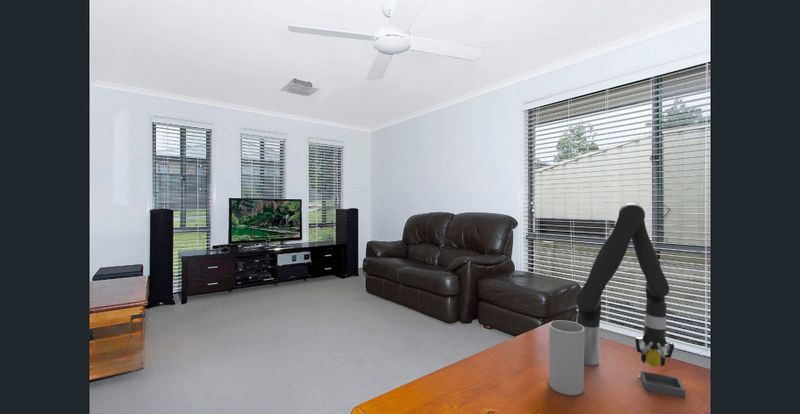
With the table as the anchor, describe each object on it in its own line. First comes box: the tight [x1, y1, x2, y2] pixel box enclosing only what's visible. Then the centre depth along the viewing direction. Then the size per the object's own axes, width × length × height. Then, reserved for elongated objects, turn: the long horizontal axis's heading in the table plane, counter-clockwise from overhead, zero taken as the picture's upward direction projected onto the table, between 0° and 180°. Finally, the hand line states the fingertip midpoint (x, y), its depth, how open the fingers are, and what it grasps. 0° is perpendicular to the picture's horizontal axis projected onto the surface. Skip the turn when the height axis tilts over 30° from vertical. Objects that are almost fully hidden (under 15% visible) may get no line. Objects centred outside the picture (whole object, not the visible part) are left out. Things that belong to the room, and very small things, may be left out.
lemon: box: [645, 349, 661, 368], centre depth 156 cm, size 6×6×8 cm
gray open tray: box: [639, 371, 686, 399], centre depth 146 cm, size 13×10×3 cm
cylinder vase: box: [548, 320, 585, 397], centre depth 147 cm, size 12×12×25 cm
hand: (652, 363), depth 156 cm, fingers closed on lemon, 5 cm apart
